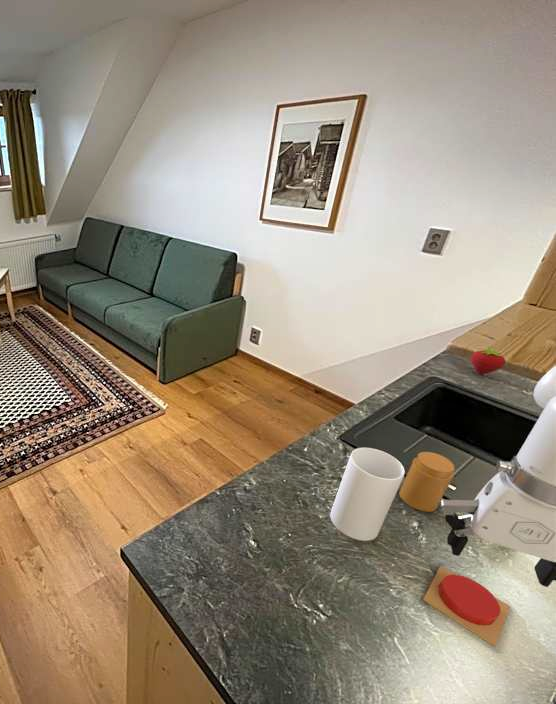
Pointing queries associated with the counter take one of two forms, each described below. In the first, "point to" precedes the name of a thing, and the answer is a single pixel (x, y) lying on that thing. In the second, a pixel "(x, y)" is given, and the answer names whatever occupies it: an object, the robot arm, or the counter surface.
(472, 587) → the lid
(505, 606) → the mat
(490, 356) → the strawberry
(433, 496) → the jar
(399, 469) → the cup
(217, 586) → the counter surface
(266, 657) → the counter surface
